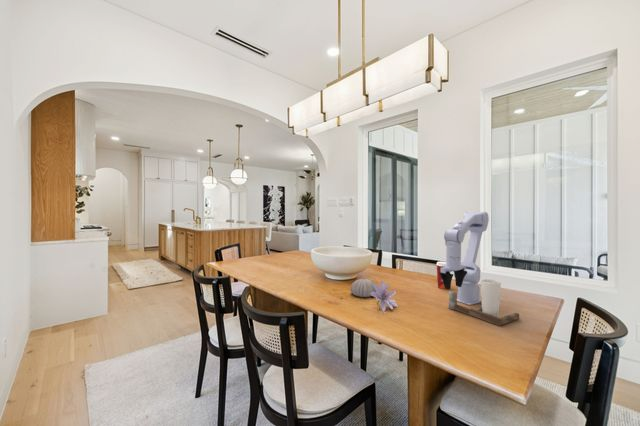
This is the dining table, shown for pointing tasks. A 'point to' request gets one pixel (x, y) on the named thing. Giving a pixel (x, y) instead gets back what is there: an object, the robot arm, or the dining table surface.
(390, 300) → the water lily
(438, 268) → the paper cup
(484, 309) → the drinking glass
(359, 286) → the sea urchin shell
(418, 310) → the dining table surface
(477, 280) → the robot arm
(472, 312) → the sliding frame
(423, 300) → the dining table surface
